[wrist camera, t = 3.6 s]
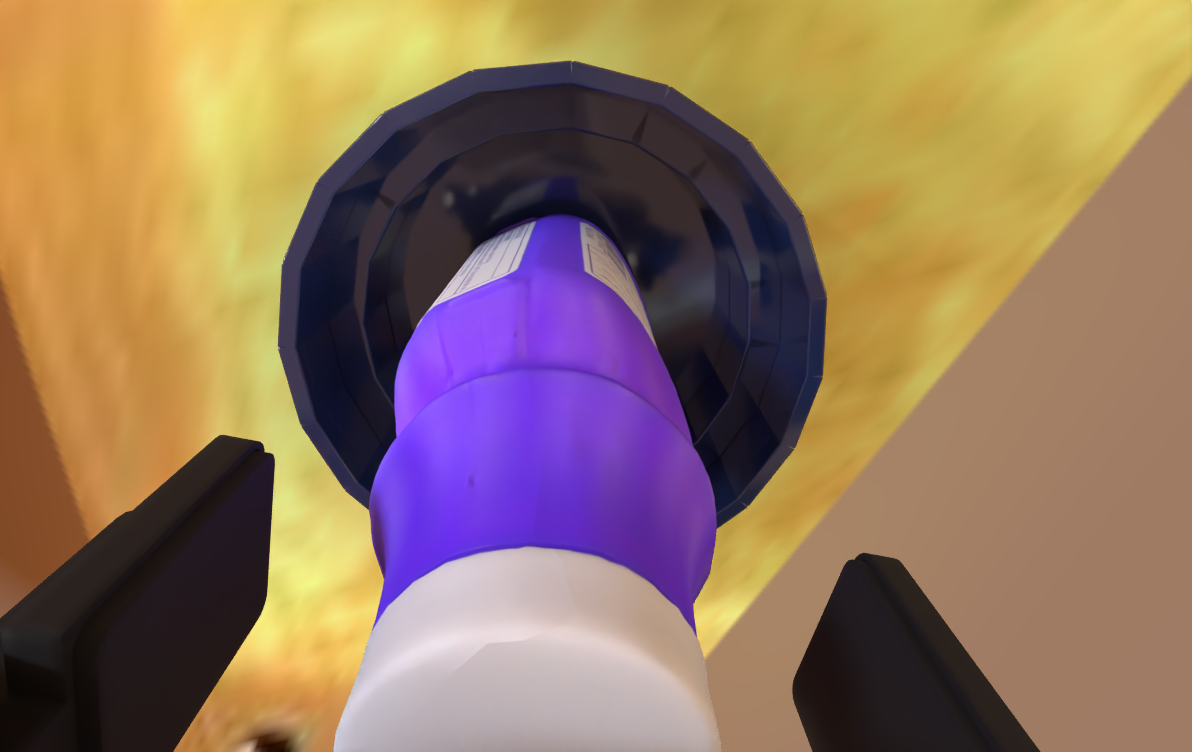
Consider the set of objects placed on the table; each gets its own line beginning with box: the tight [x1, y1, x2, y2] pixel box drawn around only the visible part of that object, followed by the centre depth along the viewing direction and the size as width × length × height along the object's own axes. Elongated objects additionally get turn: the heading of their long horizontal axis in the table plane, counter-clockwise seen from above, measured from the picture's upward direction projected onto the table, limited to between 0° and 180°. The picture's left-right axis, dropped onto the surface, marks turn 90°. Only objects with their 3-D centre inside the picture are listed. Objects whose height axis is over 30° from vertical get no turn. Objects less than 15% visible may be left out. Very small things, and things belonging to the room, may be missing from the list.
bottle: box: [333, 214, 722, 752], centre depth 15 cm, size 7×6×17 cm
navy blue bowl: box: [278, 61, 827, 528], centre depth 21 cm, size 15×15×6 cm
